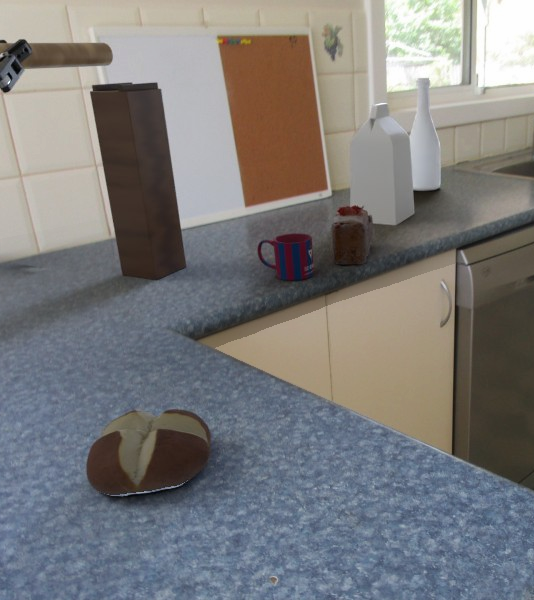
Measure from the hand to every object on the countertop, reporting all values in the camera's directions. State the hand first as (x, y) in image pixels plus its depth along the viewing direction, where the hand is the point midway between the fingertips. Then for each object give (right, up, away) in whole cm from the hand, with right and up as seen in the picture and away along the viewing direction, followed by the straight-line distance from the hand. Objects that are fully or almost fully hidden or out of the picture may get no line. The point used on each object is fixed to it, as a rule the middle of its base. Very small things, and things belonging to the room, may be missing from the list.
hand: (16, 45), depth 97 cm
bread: (+32, -54, -32) cm, 70 cm away
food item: (+47, -29, +33) cm, 64 cm away
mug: (+36, -33, +23) cm, 53 cm away
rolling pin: (+2, +1, +6) cm, 6 cm away
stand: (+11, -32, +26) cm, 42 cm away
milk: (+52, -18, +61) cm, 82 cm away
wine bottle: (+63, -5, +93) cm, 113 cm away
